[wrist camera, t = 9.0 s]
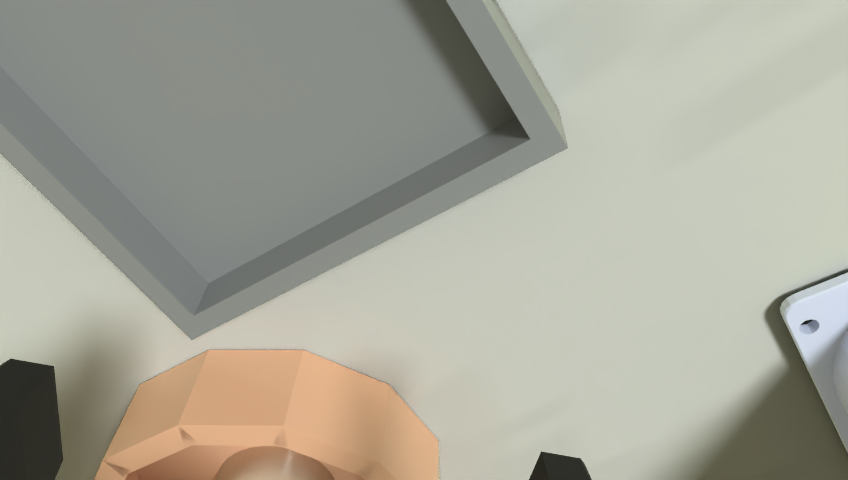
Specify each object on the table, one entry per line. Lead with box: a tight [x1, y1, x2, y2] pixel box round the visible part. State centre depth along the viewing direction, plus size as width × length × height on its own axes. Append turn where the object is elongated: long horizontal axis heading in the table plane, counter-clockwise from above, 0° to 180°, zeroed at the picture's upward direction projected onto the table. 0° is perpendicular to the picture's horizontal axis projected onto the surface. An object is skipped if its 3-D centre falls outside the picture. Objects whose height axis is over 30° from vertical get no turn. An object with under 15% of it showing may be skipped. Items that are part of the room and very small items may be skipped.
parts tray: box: [0, 0, 568, 340], centre depth 17 cm, size 11×11×2 cm
